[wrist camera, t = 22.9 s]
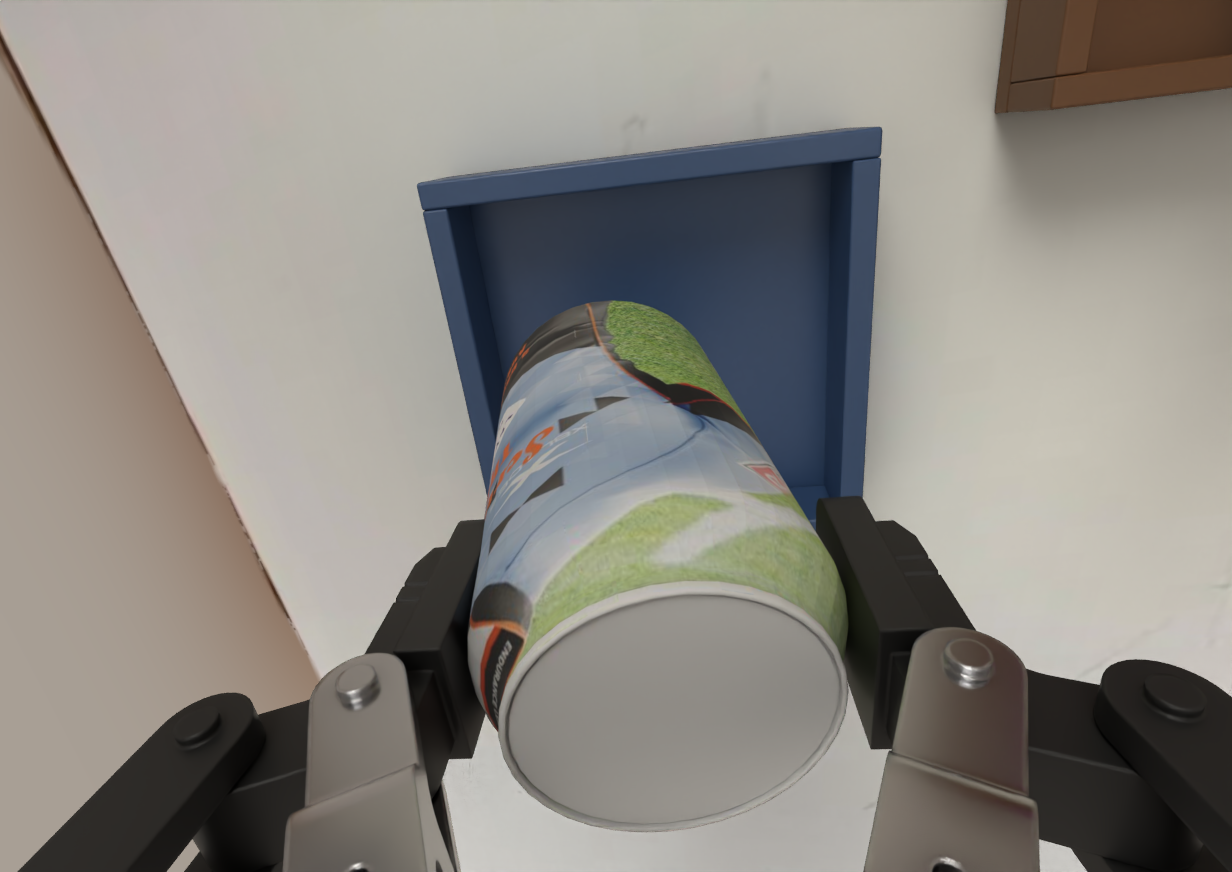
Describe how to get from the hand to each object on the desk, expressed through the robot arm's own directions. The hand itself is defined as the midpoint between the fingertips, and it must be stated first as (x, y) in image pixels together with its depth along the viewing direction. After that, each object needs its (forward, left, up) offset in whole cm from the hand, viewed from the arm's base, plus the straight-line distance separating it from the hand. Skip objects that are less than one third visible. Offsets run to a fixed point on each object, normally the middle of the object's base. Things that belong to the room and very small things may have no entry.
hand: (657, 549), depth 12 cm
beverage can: (0, -1, -8) cm, 8 cm away
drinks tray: (0, 0, -13) cm, 13 cm away
